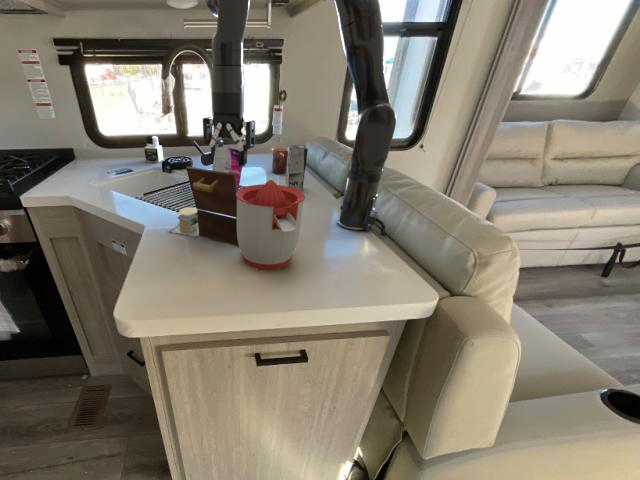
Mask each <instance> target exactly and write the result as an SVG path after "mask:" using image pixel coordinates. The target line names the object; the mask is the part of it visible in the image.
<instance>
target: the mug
mask: <svg viewBox="0 0 640 480" xmlns="http://www.w3.org/2000/svg"><path fill="white" fill-rule="evenodd" d="M288 149H289V147H283V146H278V147H277V146H276V147H275V146H274V147H272V148H271V154H272V158H271V171H272V172H273V173H274V174H285V173H287V160H288Z"/></svg>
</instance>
